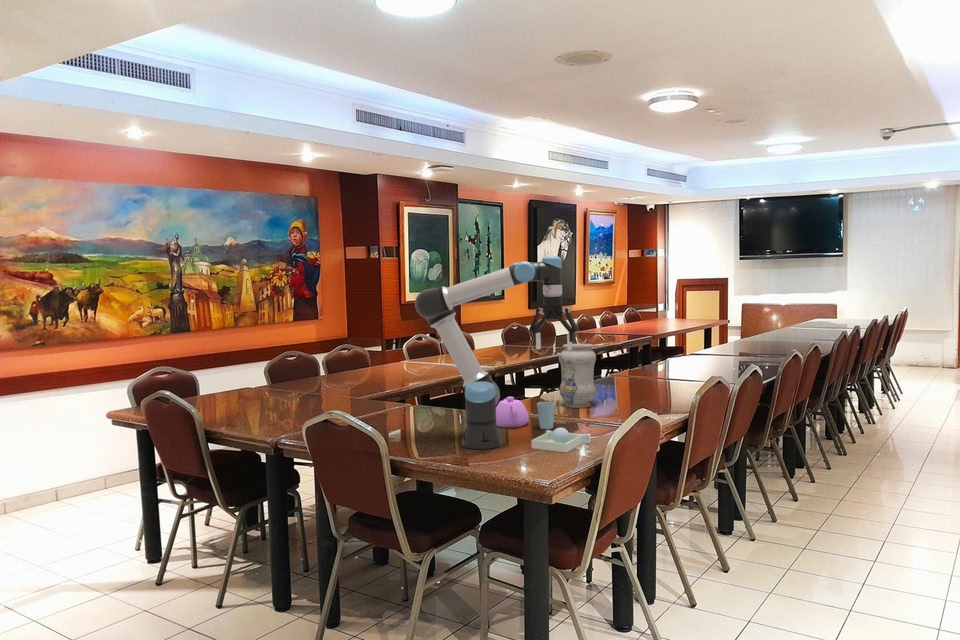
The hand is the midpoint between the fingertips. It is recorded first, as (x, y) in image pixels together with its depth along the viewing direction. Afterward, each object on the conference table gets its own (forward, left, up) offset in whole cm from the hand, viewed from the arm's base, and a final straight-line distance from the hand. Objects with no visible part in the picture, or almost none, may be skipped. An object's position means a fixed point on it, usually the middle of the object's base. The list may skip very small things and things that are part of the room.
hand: (553, 349), depth 272 cm
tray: (+7, -14, -35) cm, 38 cm away
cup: (-10, +12, -35) cm, 38 cm away
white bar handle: (+7, -5, -35) cm, 36 cm away
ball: (+7, -14, -34) cm, 37 cm away
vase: (-17, +62, -35) cm, 73 cm away
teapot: (-27, +12, -35) cm, 46 cm away
